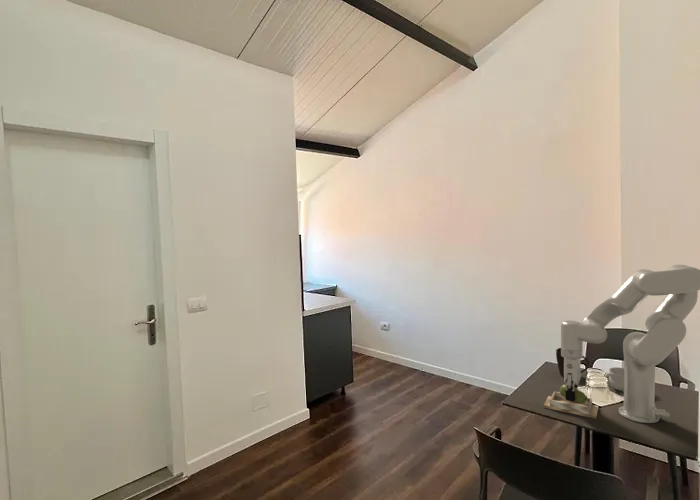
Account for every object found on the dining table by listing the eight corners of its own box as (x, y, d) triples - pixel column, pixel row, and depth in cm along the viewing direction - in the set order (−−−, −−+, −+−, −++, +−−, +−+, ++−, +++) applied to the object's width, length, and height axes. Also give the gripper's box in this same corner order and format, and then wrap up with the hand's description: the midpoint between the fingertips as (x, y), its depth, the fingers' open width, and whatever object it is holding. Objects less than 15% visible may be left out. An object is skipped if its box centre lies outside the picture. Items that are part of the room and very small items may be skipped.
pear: (565, 380, 168) (591, 392, 160) (563, 392, 169) (588, 404, 161) (558, 383, 165) (583, 395, 157) (556, 395, 166) (581, 408, 158)
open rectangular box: (598, 408, 163) (598, 399, 163) (596, 418, 155) (596, 409, 155) (548, 398, 174) (548, 390, 174) (543, 407, 165) (543, 398, 165)
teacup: (629, 384, 186) (629, 367, 186) (643, 394, 175) (644, 376, 175) (596, 384, 188) (596, 366, 187) (609, 394, 177) (609, 375, 176)
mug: (559, 370, 206) (559, 346, 205) (591, 376, 197) (591, 352, 196) (553, 376, 199) (553, 351, 198) (586, 383, 189) (586, 357, 189)
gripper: (579, 360, 154) (579, 407, 155) (584, 348, 168) (584, 391, 169) (557, 357, 158) (557, 403, 159) (564, 345, 172) (564, 388, 173)
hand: (571, 396), depth 164 cm, fingers closed on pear, 6 cm apart
